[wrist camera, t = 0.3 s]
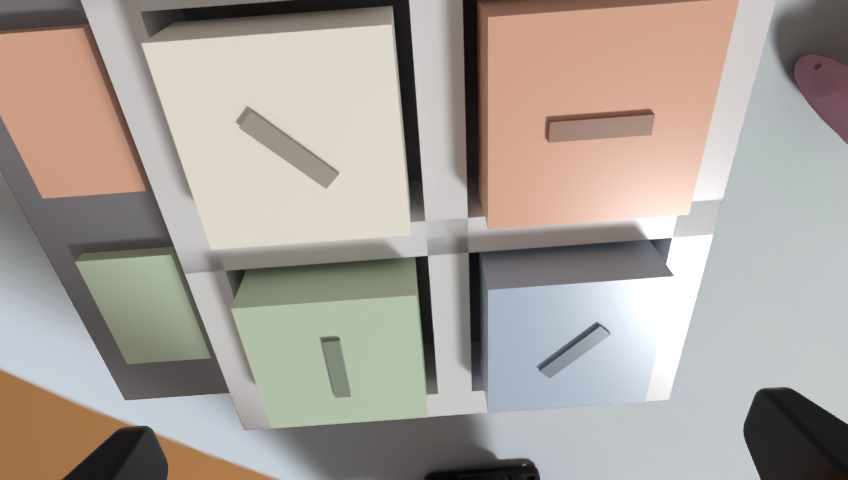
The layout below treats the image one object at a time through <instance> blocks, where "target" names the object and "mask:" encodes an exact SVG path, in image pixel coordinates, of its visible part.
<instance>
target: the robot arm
mask: <svg viewBox="0 0 848 480" xmlns="http://www.w3.org/2000/svg"><path fill="white" fill-rule="evenodd" d="M743 431H744V438H745V441H746V444H747V447H748V449H749V451H750V454H751V456H752V459H753V461H754V464H755V466H756V469H757V471H758V474H759V476H760V479H761V480H848V424H846V423H845V422H843V421H842V420H840V419H839V418H837V417H836V416H834V415H832V414H831V413H829V412H828V411H826V410H825V409H823V408H821V407H820V406H818V405H817V404H815V403H814V402H812V401H810V400H809V399H807V398H806V397H804V396H803V395H801V394H800V393H798V392H796V391H795V390H793V389H790V388H787V387H777V388H763V389H760V390H759V391H758V392H756V394H755V396H754V399H753V402H752V404H751V407H750V409H749V412H748V415H747V417H746V420H745V422H744V429H743ZM167 475H168V463H167V459H166V457H165V455H164V452H163V450H162V448H161V446H160V444H159V442H158V440H157V438H156V435H155V433H154V431H153V430H152V429H151V428H150V427H148V426H134V427H124V428H121V429H119V430H117V431H116V432H114V433H113V434H112V435H111V436H110V437H109V438H108V439H106V440H105V441H104V442H103V443H102V444H101V445H100V446H99V447H97V448H96V449H95V450H94V451H93V452H92V453H91V454H90V455H89V456H87V457H86V458H85V459H84V460H83V461H82V462H81V463H80V464H78V465H77V466H76V467H75V468H74V469H73V470H72V471H71V472H70V473H68V474H67V475H66V476H65V477H64V478H63V479H62V480H167ZM424 480H540V476H539V472H538V469H537V468H536V467H517V468H504V469H490V470H476V471H462V472H448V473H434V474H428V475H426V476H425V477H424Z"/></svg>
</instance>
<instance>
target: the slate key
mask: <svg viewBox="0 0 848 480" xmlns="http://www.w3.org/2000/svg"><path fill="white" fill-rule="evenodd" d="M479 262H480V358H481V373H482V380H483V386H484V392H485V398H486V404H487V410H488V413H495V412H509V411H523V410H537V409H551V408H564V407H578V406H592V405H606V404H620V403H634V402H645V400H646V396H647V391H648V387H649V383H650V379H651V374H652V370H653V366H654V362H655V357H656V353H657V349H658V345H659V340H660V336H661V332H662V328H663V323H664V319H665V315H666V311H667V306H668V302H669V298H670V294H671V289H672V285H673V281H674V275H673V273H672V272H671V270H670V269H669V268H668V266H667V265H666V263H665V262H664V260H663V259H662V257H661V256H660V255H659V253H658V252H657V250H656V249H655V247H654V246H653V244H652V243H651V242H650V240H635V241H621V242H608V243H594V244H581V245H567V246H554V247H540V248H526V249H513V250H499V251H486V252H479Z"/></svg>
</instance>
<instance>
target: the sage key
mask: <svg viewBox="0 0 848 480" xmlns="http://www.w3.org/2000/svg"><path fill="white" fill-rule="evenodd" d="M231 311H232V314H233V317H234V320H235V323H236V326H237V329H238V332H239V335H240V338H241V341H242V344H243V347H244V350H245V352H246V355H247V358H248V361H249V364H250V367H251V370H252V373H253V376H254V379H255V382H256V385H257V388H258V391H259V394H260V397H261V400H262V403H263V406H264V409H265V412H266V415H267V418H268V421H269V424H270V427H271V429H274V428H288V427H301V426H315V425H329V424H343V423H357V422H371V421H384V420H398V419H412V418H426V417H428V413H427V394H426V374H425V362H424V351H423V340H422V329H421V318H420V306H419V295H418V284H417V273H416V262H415V257H404V258H391V259H377V260H364V261H350V262H336V263H323V264H309V265H296V266H282V267H268V268H255V269H246V271H245V274H244V277H243V279H242V282H241V284H240V287H239V289H238V292H237V294H236V297H235V299H234V302H233V304H232V307H231Z"/></svg>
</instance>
